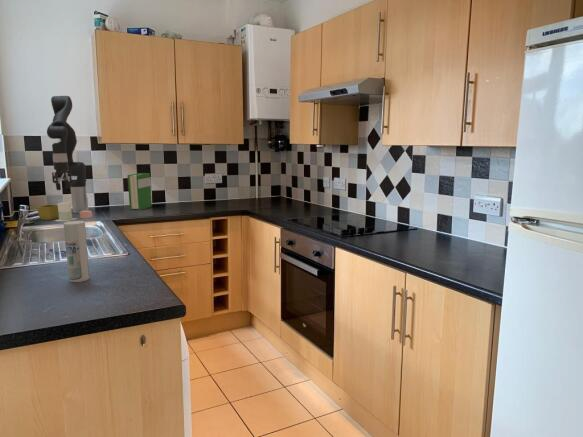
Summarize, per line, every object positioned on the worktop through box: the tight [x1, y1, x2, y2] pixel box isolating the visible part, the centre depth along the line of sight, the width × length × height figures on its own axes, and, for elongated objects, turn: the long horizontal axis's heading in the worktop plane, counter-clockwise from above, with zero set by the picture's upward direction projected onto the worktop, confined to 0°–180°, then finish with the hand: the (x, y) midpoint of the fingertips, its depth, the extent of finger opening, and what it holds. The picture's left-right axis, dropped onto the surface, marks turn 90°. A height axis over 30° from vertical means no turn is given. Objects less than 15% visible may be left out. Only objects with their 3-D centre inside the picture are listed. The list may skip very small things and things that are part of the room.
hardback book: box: [127, 172, 152, 211], centre depth 310 cm, size 18×7×24 cm, turn 171°
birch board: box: [53, 217, 79, 222], centre depth 262 cm, size 10×10×1 cm
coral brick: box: [78, 210, 93, 219], centre depth 268 cm, size 5×5×5 cm
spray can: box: [63, 220, 90, 283], centre depth 150 cm, size 6×6×20 cm
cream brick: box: [57, 201, 72, 212], centre depth 260 cm, size 5×5×5 cm
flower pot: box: [36, 204, 59, 221], centre depth 263 cm, size 9×9×9 cm
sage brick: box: [58, 210, 73, 220], centre depth 261 cm, size 5×5×5 cm
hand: (63, 189), depth 258 cm, fingers open, 8 cm apart
